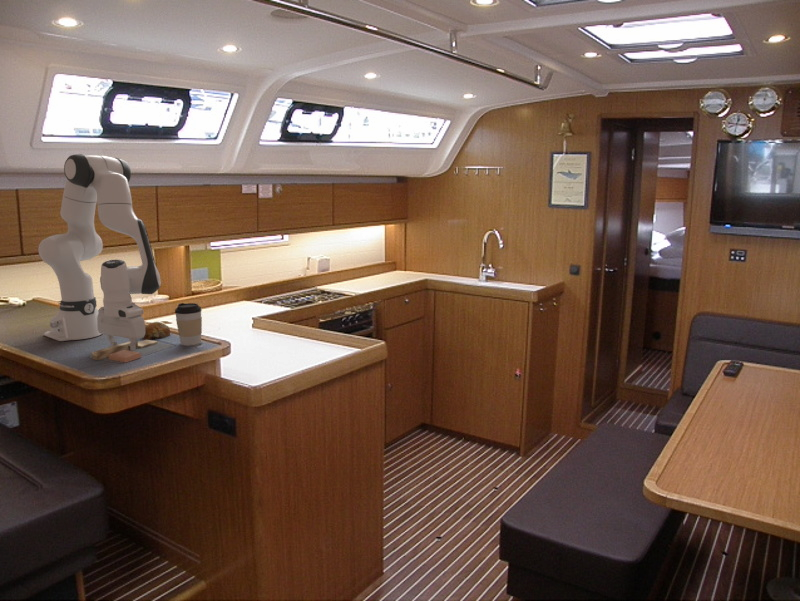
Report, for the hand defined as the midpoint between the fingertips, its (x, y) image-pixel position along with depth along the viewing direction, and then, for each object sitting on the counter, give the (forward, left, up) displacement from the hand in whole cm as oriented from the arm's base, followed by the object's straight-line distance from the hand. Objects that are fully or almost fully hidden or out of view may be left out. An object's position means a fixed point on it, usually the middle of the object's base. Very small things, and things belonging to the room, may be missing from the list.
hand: (122, 348), depth 219 cm
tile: (+4, -6, 0) cm, 7 cm away
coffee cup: (+13, +18, -2) cm, 22 cm away
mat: (+3, +1, -2) cm, 4 cm away
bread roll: (-7, +19, -2) cm, 21 cm away
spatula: (0, +1, -1) cm, 1 cm away
